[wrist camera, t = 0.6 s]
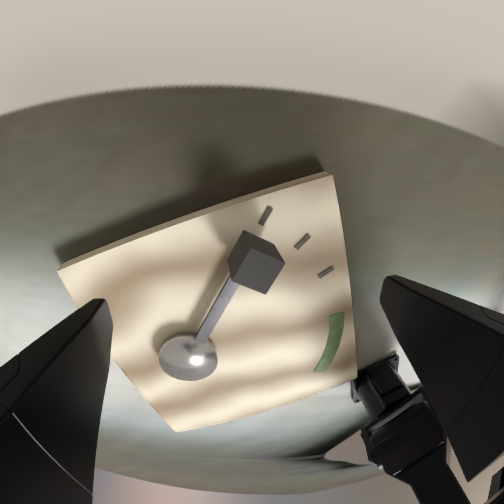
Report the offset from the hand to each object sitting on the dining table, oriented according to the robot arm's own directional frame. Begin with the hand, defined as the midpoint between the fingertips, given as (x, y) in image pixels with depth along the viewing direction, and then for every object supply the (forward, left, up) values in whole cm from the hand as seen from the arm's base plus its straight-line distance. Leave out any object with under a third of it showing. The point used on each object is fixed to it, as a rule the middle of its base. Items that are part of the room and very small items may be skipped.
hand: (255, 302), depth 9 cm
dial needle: (-8, +4, -12) cm, 15 cm away
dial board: (-12, +3, -14) cm, 18 cm away
